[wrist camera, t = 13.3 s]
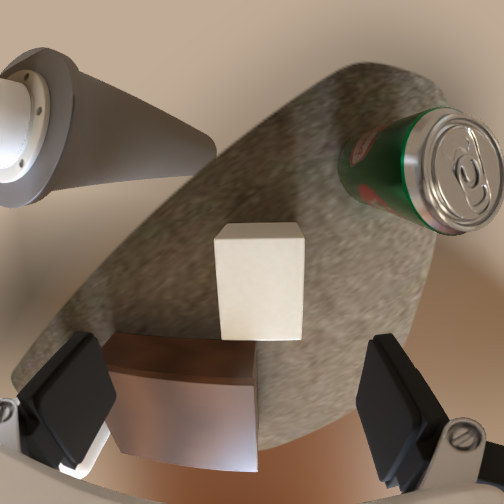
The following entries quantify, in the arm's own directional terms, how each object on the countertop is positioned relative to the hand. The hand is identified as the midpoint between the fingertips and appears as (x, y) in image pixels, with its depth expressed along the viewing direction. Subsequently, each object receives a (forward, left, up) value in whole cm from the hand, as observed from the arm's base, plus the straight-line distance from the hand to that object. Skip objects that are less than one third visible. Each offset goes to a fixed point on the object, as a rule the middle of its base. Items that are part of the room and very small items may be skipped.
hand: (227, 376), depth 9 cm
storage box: (-6, -12, -13) cm, 19 cm away
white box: (+1, -1, -13) cm, 13 cm away
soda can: (+9, +7, -13) cm, 17 cm away
